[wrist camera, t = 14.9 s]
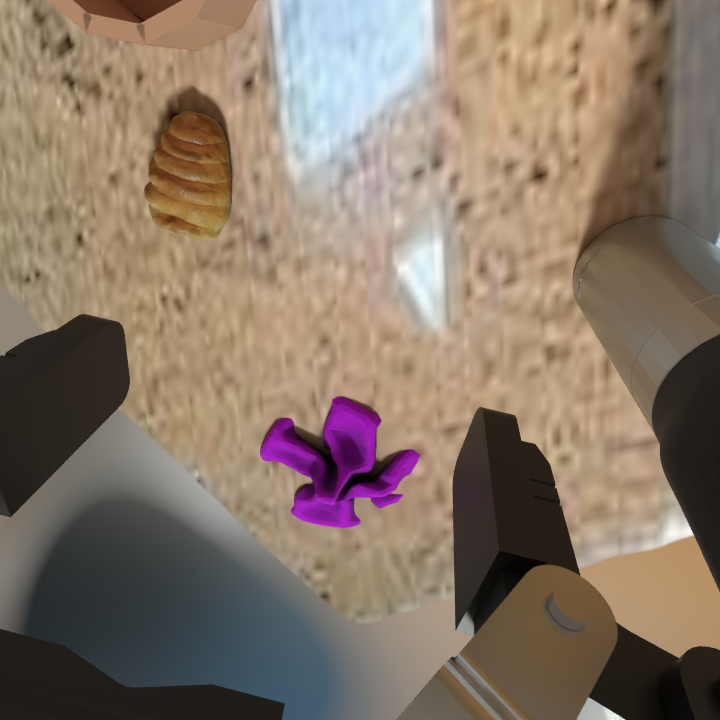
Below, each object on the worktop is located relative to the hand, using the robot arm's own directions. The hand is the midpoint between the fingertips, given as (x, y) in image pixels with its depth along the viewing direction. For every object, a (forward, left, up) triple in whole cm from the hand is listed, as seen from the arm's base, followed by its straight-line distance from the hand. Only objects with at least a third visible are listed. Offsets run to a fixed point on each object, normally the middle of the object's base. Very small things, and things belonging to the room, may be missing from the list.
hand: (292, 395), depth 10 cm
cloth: (-1, +32, -31) cm, 45 cm away
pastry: (+17, +4, -31) cm, 35 cm away
